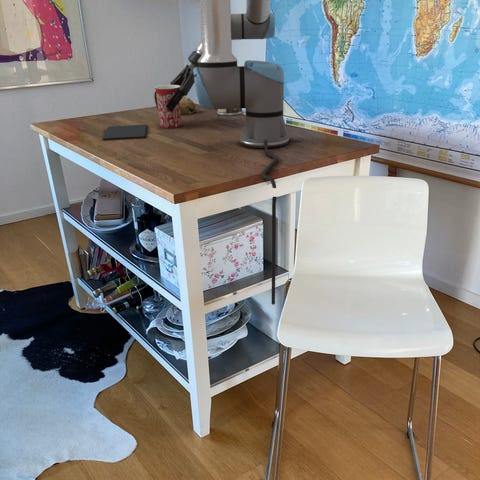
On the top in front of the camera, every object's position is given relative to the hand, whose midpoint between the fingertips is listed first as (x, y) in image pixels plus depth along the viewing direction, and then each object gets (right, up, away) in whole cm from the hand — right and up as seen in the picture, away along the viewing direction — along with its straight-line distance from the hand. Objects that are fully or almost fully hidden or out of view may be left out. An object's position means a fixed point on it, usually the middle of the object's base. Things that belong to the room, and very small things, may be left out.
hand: (164, 105), depth 188 cm
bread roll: (+4, +7, +25) cm, 27 cm away
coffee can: (+23, +6, +22) cm, 33 cm away
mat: (-13, -12, -6) cm, 18 cm away
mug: (+1, -6, +4) cm, 7 cm away
